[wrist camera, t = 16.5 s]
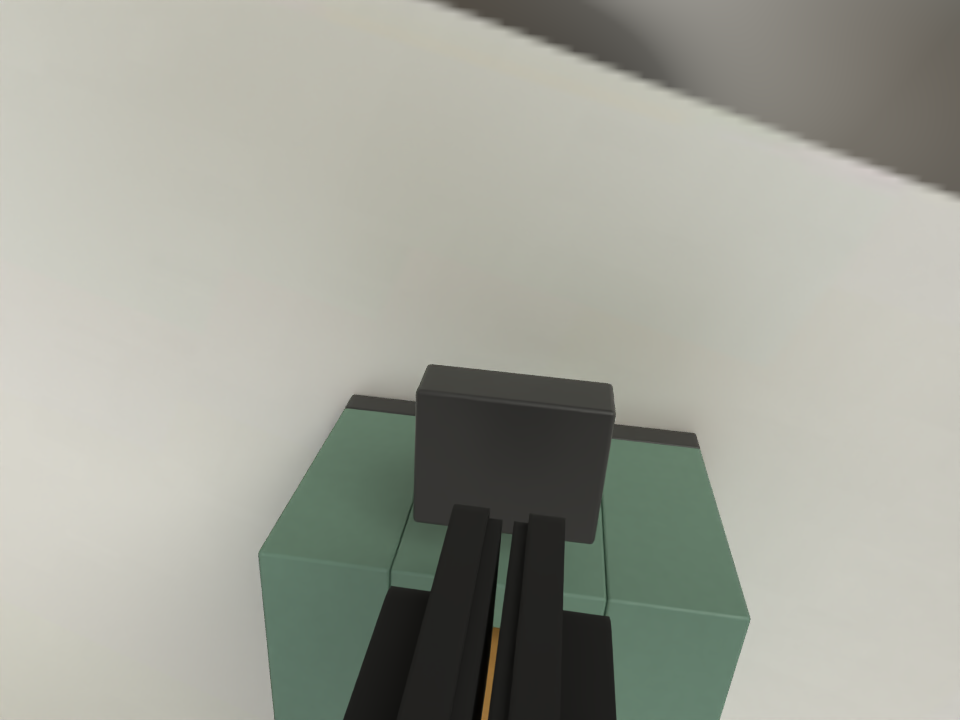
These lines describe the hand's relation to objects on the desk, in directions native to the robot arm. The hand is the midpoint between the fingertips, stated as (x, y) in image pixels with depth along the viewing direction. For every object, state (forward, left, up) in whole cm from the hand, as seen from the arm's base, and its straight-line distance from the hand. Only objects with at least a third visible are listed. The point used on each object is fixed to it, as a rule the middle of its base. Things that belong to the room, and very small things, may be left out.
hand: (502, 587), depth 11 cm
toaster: (+8, 0, -10) cm, 13 cm away
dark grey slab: (0, 0, -4) cm, 4 cm away
